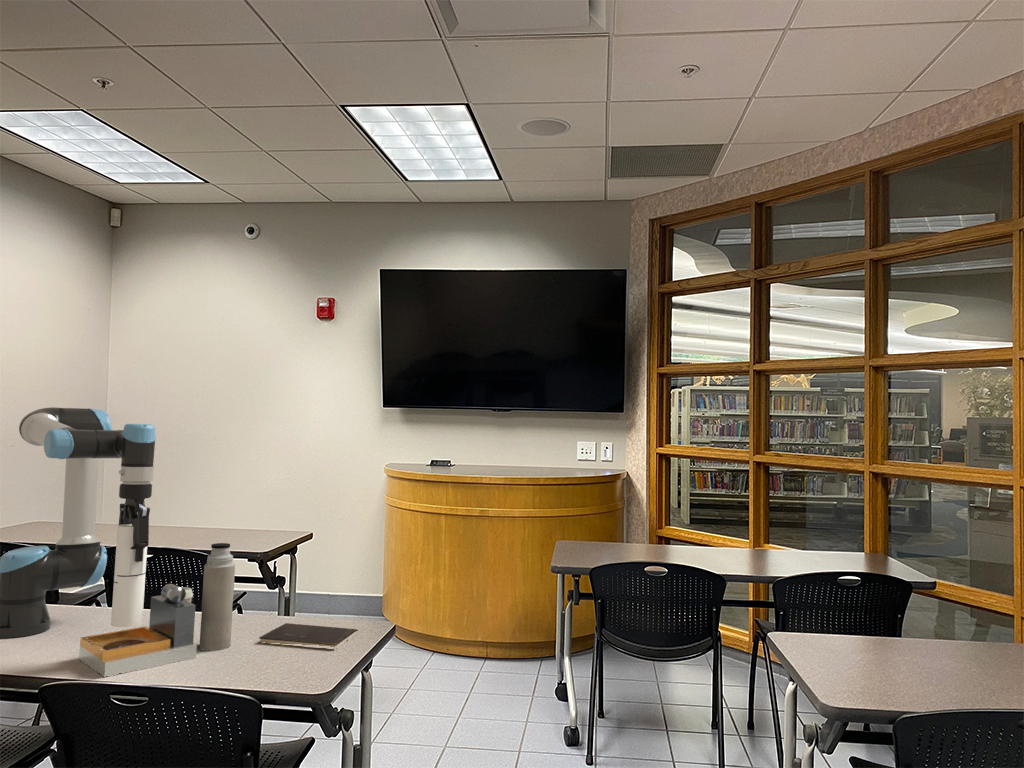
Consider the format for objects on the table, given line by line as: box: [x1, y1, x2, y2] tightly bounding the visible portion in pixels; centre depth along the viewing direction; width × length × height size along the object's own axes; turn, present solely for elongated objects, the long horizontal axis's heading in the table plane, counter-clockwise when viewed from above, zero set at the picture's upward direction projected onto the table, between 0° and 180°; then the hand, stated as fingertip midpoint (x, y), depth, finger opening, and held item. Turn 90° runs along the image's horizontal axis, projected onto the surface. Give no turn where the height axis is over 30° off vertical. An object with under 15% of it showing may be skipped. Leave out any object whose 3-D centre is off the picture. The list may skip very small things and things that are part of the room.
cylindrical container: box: [110, 524, 148, 628], centre depth 183 cm, size 7×7×25 cm
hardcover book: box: [258, 622, 359, 647], centre depth 205 cm, size 16×23×2 cm
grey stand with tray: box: [78, 583, 198, 678], centre depth 184 cm, size 18×22×18 cm
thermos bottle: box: [199, 542, 236, 651], centre depth 197 cm, size 8×8×28 cm
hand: (130, 571), depth 184 cm, fingers closed on cylindrical container, 7 cm apart
